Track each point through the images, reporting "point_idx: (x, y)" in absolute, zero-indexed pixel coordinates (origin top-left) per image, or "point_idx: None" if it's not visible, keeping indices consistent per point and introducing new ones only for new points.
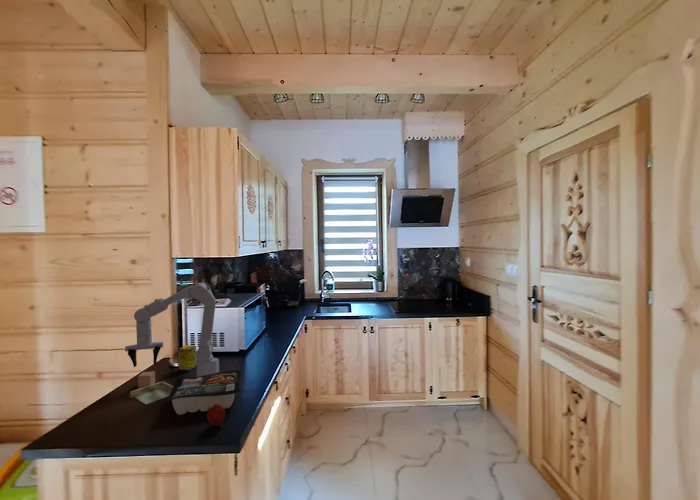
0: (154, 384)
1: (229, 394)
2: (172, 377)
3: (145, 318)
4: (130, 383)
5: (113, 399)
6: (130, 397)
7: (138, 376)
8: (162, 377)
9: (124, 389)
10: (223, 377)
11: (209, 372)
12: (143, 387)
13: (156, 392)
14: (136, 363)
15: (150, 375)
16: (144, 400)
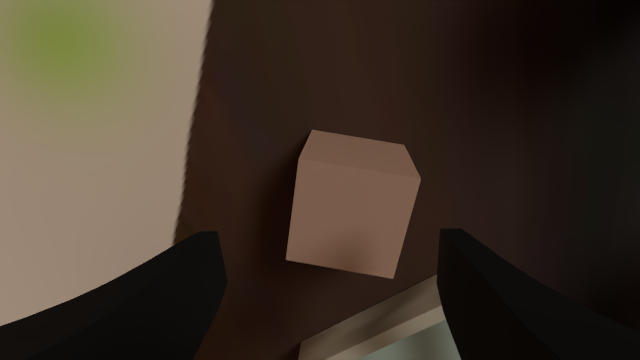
0: (429, 323)
1: None
2: (544, 81)
3: None
4: (211, 106)
5: (217, 329)
6: (303, 347)
7: (290, 260)
8: (453, 47)
9: (216, 211)
10: None
11: None
12: (363, 343)
13: (440, 341)
14: (207, 250)
15: (393, 275)
16: None
